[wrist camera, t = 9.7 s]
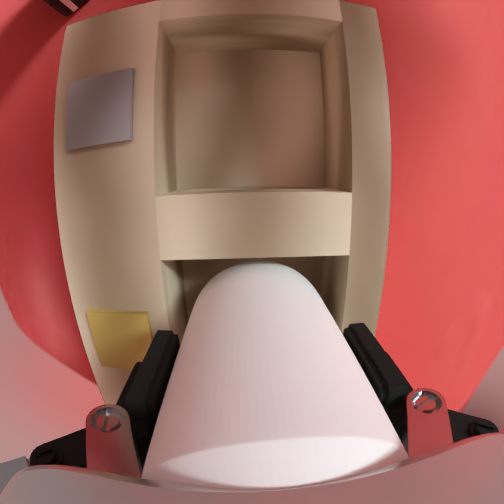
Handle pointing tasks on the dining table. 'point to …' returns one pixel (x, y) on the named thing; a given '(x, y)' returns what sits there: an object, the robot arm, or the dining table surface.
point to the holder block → (218, 162)
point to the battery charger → (65, 5)
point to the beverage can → (266, 391)
